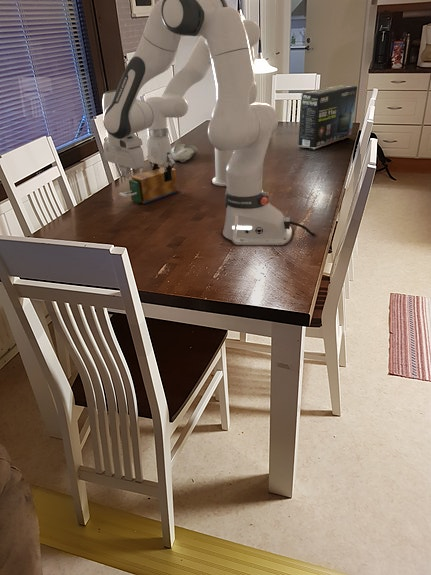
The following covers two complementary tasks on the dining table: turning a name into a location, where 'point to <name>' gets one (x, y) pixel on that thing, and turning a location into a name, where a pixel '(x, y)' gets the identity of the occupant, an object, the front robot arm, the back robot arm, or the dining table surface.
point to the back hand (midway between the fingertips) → (162, 178)
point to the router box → (326, 115)
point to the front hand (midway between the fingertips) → (125, 176)
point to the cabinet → (156, 184)
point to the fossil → (183, 152)
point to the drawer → (134, 191)
